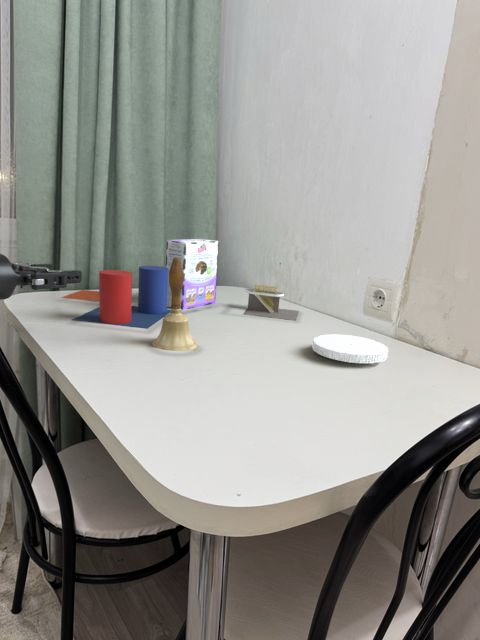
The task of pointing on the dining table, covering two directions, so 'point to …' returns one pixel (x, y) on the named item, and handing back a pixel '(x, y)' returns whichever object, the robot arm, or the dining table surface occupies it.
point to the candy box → (194, 271)
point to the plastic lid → (350, 348)
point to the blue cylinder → (152, 289)
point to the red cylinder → (115, 296)
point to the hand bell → (175, 317)
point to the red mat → (84, 295)
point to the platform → (267, 304)
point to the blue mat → (136, 321)
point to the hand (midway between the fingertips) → (66, 272)
